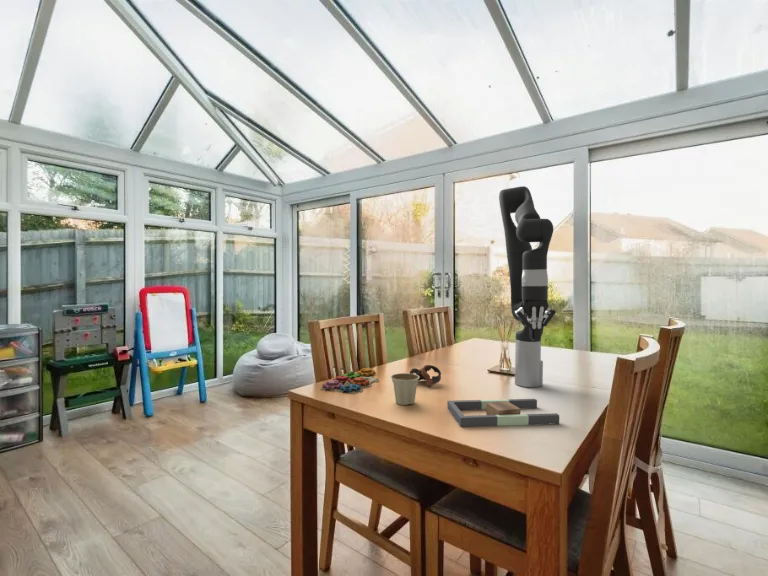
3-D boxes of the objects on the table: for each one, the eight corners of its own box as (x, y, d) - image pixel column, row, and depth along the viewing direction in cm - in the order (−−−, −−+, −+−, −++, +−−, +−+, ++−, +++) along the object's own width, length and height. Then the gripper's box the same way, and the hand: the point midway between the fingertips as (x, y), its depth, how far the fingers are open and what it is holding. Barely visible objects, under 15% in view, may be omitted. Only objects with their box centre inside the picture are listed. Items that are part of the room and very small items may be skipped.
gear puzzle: (355, 371, 174) (355, 362, 174) (389, 375, 168) (389, 366, 168) (317, 391, 145) (317, 380, 145) (357, 396, 139) (357, 384, 139)
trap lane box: (534, 406, 127) (534, 398, 127) (559, 423, 112) (559, 415, 112) (447, 408, 125) (447, 400, 125) (460, 426, 110) (460, 417, 110)
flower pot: (389, 398, 135) (389, 373, 135) (416, 397, 136) (416, 372, 135) (392, 407, 126) (392, 380, 125) (421, 406, 126) (421, 380, 126)
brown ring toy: (435, 381, 159) (442, 365, 156) (436, 397, 151) (444, 381, 147) (406, 374, 158) (412, 358, 154) (406, 390, 150) (413, 374, 146)
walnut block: (507, 414, 121) (507, 401, 121) (520, 422, 114) (520, 408, 114) (486, 416, 119) (486, 402, 119) (498, 424, 112) (498, 410, 112)
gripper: (548, 283, 126) (548, 337, 127) (508, 284, 124) (509, 339, 125) (561, 284, 119) (561, 341, 119) (519, 285, 117) (520, 343, 118)
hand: (534, 340), depth 122 cm, fingers closed
